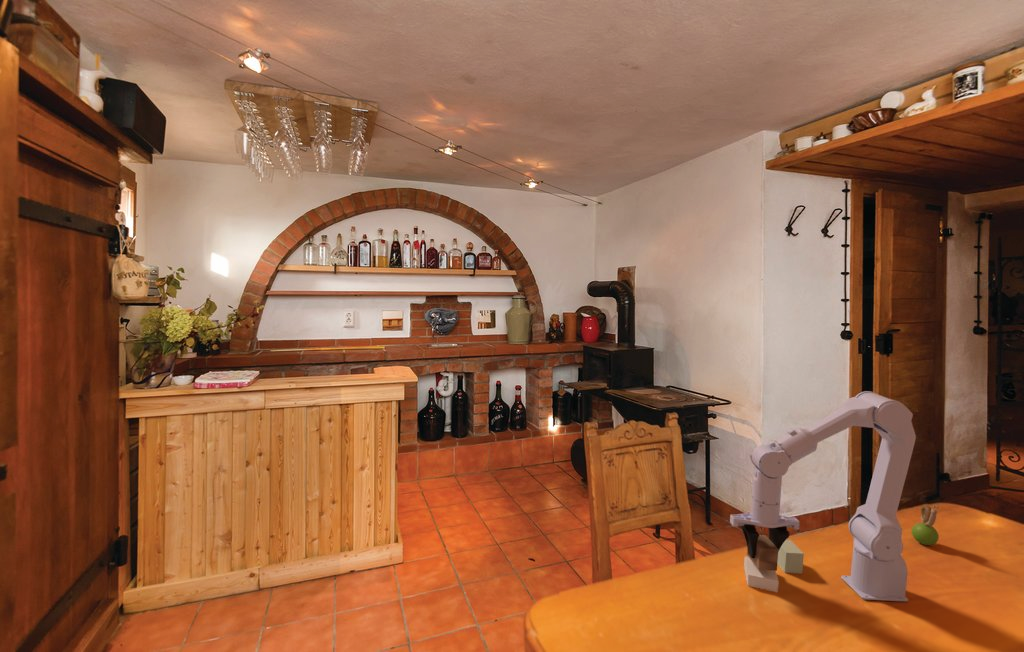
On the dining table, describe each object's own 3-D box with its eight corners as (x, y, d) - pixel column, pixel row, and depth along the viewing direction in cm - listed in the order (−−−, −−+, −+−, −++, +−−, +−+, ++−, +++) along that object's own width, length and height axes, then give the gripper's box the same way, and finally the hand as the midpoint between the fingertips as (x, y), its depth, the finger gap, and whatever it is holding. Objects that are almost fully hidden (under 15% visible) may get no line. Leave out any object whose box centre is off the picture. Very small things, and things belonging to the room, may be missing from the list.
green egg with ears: (918, 549, 125) (923, 504, 124) (906, 536, 131) (911, 494, 130) (944, 553, 123) (949, 508, 122) (930, 540, 129) (935, 497, 128)
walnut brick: (764, 555, 113) (765, 535, 113) (776, 570, 107) (778, 549, 107) (746, 554, 114) (748, 534, 113) (758, 569, 108) (759, 548, 107)
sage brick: (788, 559, 119) (790, 540, 119) (802, 573, 113) (803, 553, 113) (772, 558, 120) (773, 539, 119) (784, 572, 114) (786, 552, 113)
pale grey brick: (772, 573, 114) (772, 561, 113) (777, 593, 106) (778, 580, 106) (743, 567, 116) (744, 556, 115) (747, 587, 108) (748, 574, 108)
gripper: (789, 493, 113) (785, 548, 114) (726, 490, 114) (722, 545, 115) (806, 507, 106) (801, 565, 107) (738, 504, 106) (734, 562, 108)
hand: (761, 556), depth 110 cm, fingers closed on walnut brick, 4 cm apart
